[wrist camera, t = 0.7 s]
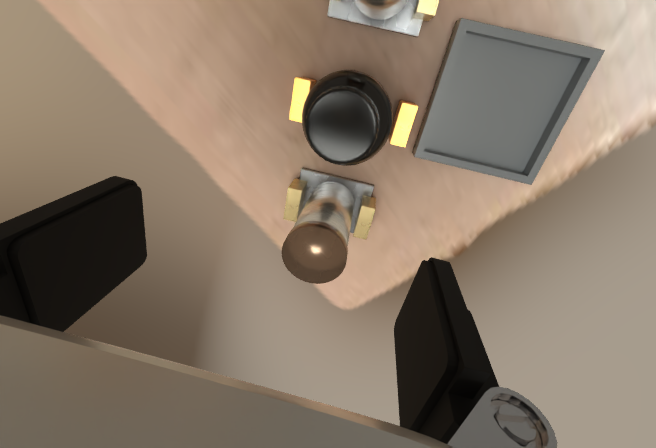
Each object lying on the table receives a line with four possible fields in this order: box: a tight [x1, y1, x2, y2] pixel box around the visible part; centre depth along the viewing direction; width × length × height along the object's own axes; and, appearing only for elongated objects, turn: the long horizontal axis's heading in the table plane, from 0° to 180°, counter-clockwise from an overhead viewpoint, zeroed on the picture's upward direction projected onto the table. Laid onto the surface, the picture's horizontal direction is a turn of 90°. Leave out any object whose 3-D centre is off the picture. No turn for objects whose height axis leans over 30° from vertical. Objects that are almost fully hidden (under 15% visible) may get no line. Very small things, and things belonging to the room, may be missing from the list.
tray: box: [412, 18, 605, 185], centre depth 28 cm, size 11×11×2 cm
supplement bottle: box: [302, 70, 392, 165], centre depth 25 cm, size 7×7×12 cm
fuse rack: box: [282, 0, 439, 284], centre depth 25 cm, size 26×11×12 cm, turn 169°
